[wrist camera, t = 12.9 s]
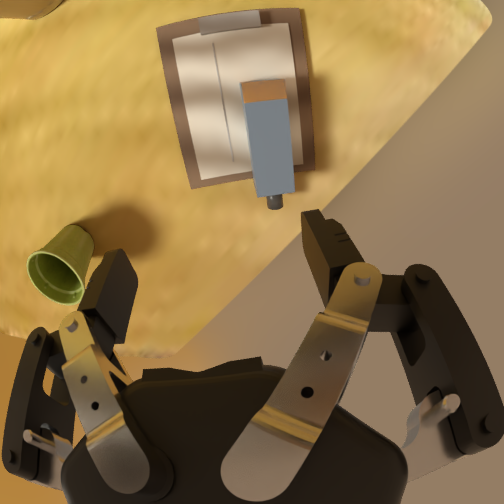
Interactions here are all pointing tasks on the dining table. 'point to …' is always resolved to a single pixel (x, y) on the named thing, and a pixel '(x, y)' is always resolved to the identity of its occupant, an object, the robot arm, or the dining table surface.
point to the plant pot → (62, 265)
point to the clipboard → (233, 87)
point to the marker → (269, 138)
